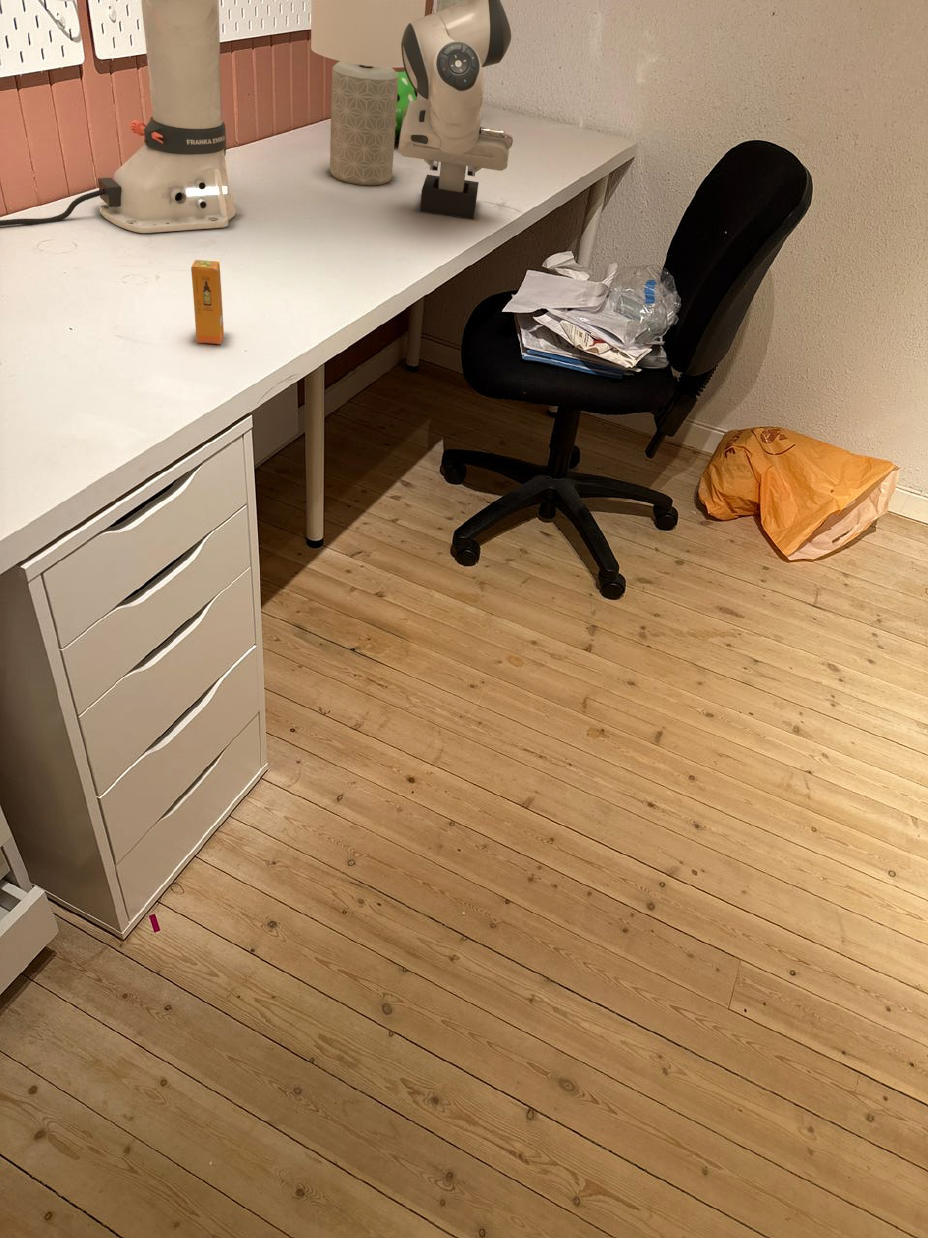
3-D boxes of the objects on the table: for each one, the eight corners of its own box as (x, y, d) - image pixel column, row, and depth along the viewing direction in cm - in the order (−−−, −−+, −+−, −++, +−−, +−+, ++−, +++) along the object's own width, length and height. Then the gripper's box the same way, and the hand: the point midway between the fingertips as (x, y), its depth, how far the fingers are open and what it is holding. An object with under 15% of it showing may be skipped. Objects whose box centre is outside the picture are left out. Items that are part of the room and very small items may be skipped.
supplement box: (225, 334, 124) (221, 260, 118) (221, 345, 122) (217, 269, 115) (200, 332, 124) (195, 257, 118) (195, 343, 121) (189, 267, 115)
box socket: (473, 218, 175) (475, 196, 172) (419, 211, 175) (421, 188, 172) (476, 203, 183) (478, 181, 180) (425, 195, 182) (426, 174, 180)
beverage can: (458, 210, 176) (466, 141, 169) (434, 205, 177) (441, 137, 169) (463, 203, 180) (471, 136, 172) (439, 198, 180) (446, 131, 173)
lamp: (400, 198, 179) (419, -66, 152) (296, 180, 180) (297, -86, 153) (420, 171, 195) (440, -72, 168) (325, 155, 196) (330, -90, 169)
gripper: (516, 116, 162) (509, 161, 176) (400, 99, 161) (402, 146, 175) (511, 150, 161) (504, 193, 175) (395, 133, 161) (398, 177, 174)
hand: (452, 169), depth 175 cm, fingers open, 6 cm apart
